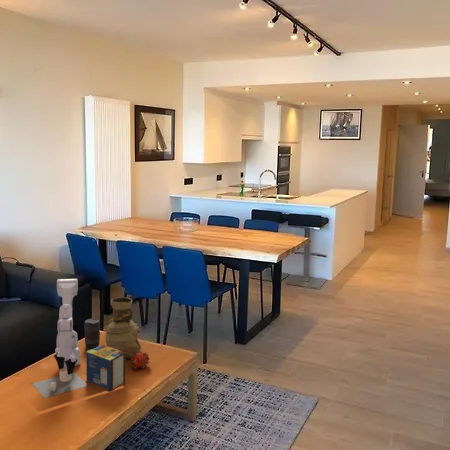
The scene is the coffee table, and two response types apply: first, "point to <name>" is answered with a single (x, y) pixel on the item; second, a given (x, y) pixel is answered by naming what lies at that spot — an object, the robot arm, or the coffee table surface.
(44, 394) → the base
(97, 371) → the protein box
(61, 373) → the cap
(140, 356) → the dragon fruit
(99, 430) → the coffee table surface
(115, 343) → the ceramic vessel
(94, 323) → the camera lens
